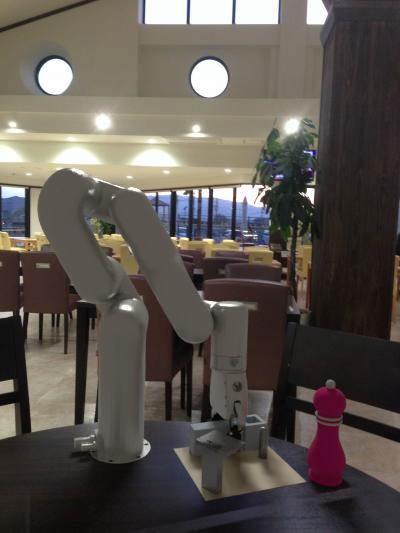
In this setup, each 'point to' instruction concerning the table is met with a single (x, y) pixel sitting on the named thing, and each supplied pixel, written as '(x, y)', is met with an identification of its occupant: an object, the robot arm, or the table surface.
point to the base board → (242, 472)
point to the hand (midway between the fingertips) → (225, 442)
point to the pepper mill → (327, 437)
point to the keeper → (216, 458)
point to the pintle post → (263, 442)
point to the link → (247, 436)
